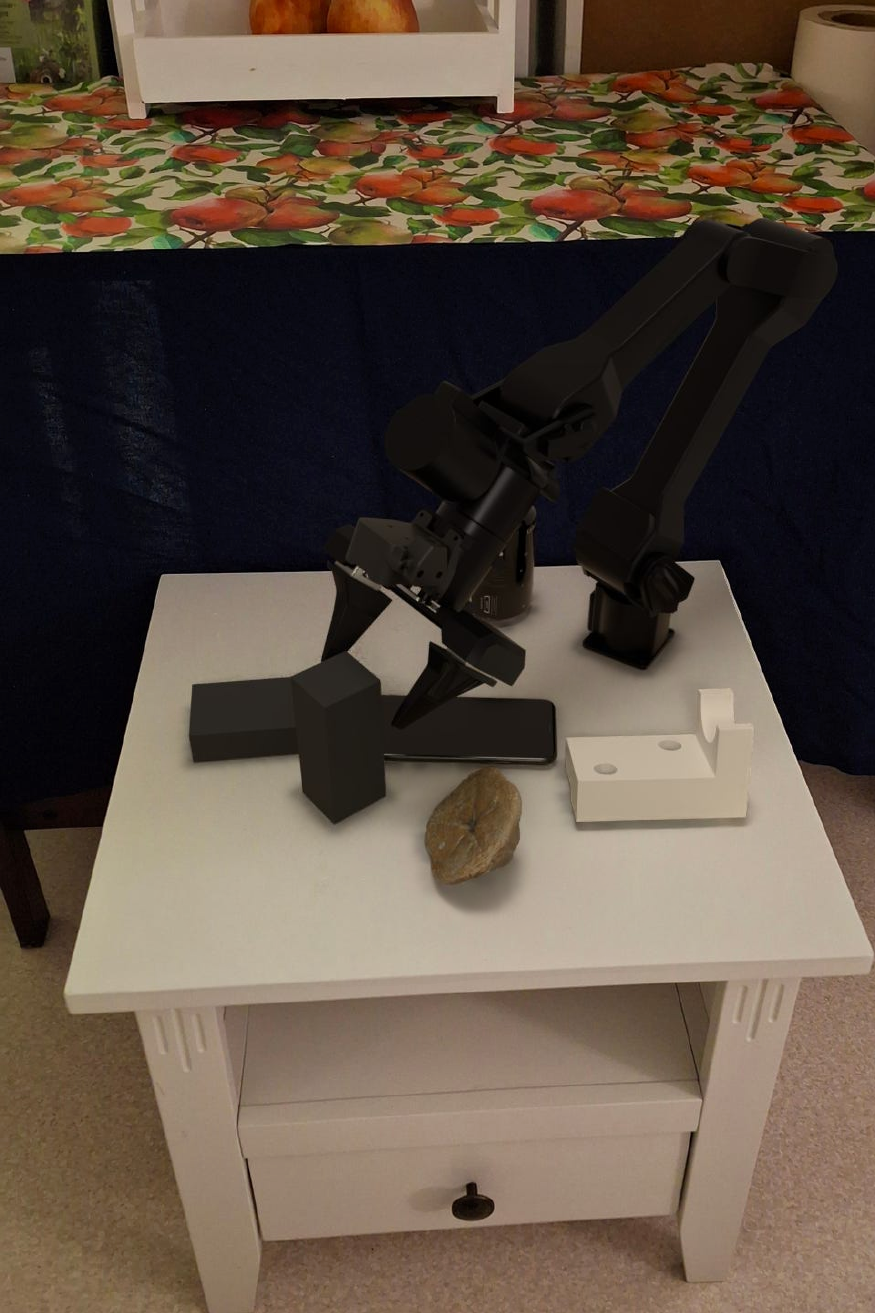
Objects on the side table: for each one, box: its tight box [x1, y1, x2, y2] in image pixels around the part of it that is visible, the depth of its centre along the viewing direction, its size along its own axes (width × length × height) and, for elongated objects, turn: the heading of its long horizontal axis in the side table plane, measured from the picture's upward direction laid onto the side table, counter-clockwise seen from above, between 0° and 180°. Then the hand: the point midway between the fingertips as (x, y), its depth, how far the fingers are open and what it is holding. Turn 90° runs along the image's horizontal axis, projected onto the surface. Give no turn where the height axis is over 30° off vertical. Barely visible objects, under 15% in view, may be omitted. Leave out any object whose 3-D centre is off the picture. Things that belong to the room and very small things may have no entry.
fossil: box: [424, 766, 523, 886], centre depth 90 cm, size 9×4×10 cm
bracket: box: [564, 687, 755, 823], centre depth 95 cm, size 13×7×8 cm, turn 92°
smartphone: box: [381, 694, 558, 767], centre depth 102 cm, size 8×1×16 cm
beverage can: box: [469, 505, 538, 622], centre depth 113 cm, size 7×7×12 cm
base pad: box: [188, 676, 299, 763], centre depth 102 cm, size 12×6×3 cm, turn 96°
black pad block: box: [290, 651, 387, 825], centre depth 93 cm, size 5×4×12 cm
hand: (359, 695), depth 92 cm, fingers open, 9 cm apart
